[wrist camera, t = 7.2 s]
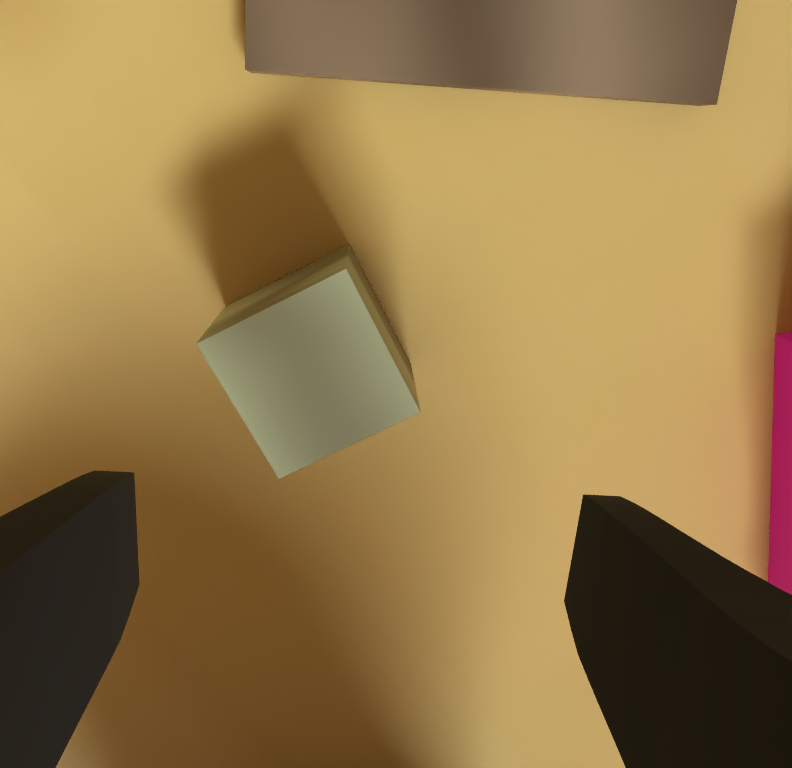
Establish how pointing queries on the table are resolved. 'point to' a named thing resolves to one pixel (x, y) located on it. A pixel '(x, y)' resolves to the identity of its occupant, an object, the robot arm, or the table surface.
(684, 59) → the board
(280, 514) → the table surface
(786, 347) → the toy block
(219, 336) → the olive block
